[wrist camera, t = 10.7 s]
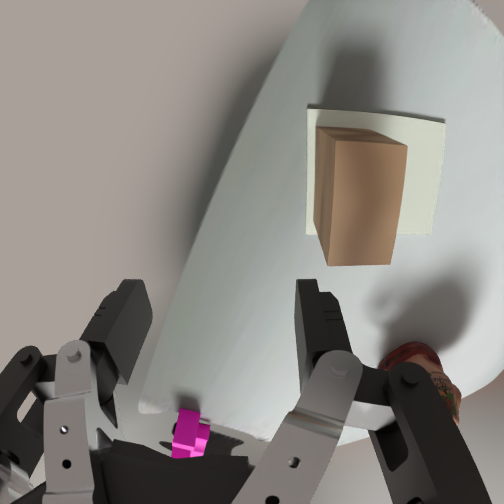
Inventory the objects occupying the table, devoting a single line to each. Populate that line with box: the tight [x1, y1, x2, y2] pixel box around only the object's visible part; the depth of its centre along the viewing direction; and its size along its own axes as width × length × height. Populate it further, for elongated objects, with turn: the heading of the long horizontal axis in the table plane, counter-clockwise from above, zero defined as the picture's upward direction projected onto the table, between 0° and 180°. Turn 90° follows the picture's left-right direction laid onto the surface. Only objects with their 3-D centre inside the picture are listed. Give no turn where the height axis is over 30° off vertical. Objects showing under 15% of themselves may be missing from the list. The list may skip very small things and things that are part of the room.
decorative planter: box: [378, 342, 461, 425], centre depth 33 cm, size 20×12×14 cm, turn 70°
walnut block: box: [313, 126, 408, 266], centre depth 23 cm, size 5×9×8 cm, turn 2°
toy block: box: [171, 408, 210, 458], centre depth 49 cm, size 15×6×8 cm, turn 165°
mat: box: [305, 109, 446, 235], centre depth 26 cm, size 14×12×1 cm
